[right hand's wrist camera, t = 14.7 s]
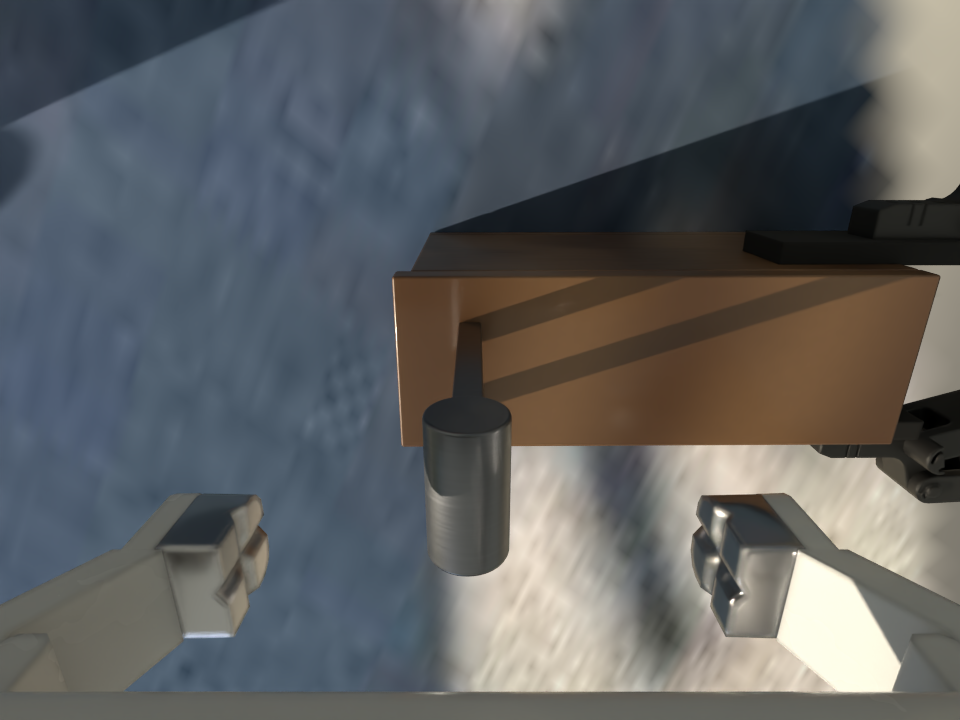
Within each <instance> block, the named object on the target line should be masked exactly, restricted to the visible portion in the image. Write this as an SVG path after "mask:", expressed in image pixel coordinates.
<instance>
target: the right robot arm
mask: <svg viewBox="0 0 960 720" xmlns="http://www.w3.org/2000/svg"><path fill="white" fill-rule="evenodd" d="M263 515H264V512H263V507H262V502H261V499H260V498H259V497H258V496H257V495H250V494H200V493H179V494H174V495H170V496H169V497H168V498H167V499H166V500H165V502H164V503H163V504H162V505H161V506H160V507H159V508H158V509H157V510H156V512H155V513H154V514H153V515H152V516H151V517H150V518H149V519H148V520H147V521H146V523H145V524H144V525H143V526H142V527H141V528H140V529H139V530H138V531H137V533H136V534H135V535H134V536H133V537H132V538H131V539H130V540H129V541H128V542H127V544H126V545H125V546H124V547H123V548H122V549H121V550H110V551H108V552H106V553H104V554H102V555H100V556H98V557H96V558H94V559H92V560H90V561H88V562H86V563H84V564H82V565H80V566H78V567H76V568H74V569H72V570H70V571H68V572H66V573H64V574H62V575H60V576H58V577H56V578H54V579H52V580H50V581H48V582H46V583H43V584H41V585H39V586H37V587H35V588H33V589H31V590H29V591H27V592H25V593H23V594H21V595H19V596H17V597H15V598H13V599H11V600H9V601H7V602H5V603H3V604H1V605H0V720H960V605H959V604H957V603H955V602H953V601H951V600H949V599H947V598H945V597H943V596H941V595H939V594H937V593H935V592H932V591H930V590H928V589H926V588H924V587H922V586H920V585H918V584H916V583H914V582H912V581H910V580H908V579H906V578H904V577H902V576H900V575H898V574H896V573H894V572H892V571H890V570H888V569H886V568H884V567H882V566H880V565H878V564H876V563H874V562H872V561H870V560H868V559H866V558H864V557H862V556H860V555H858V554H856V553H854V552H852V551H850V550H839V549H838V548H837V547H836V546H835V545H834V544H833V543H832V541H831V540H830V539H829V538H828V537H827V536H826V535H825V534H824V533H823V531H822V530H821V529H820V528H819V527H818V526H817V525H816V524H815V523H814V521H813V520H812V519H811V518H810V517H809V516H808V515H807V514H806V513H805V511H804V510H803V509H802V508H801V507H800V506H799V505H798V504H797V503H796V502H795V500H794V499H793V498H792V497H791V496H789V495H787V494H785V493H770V494H753V495H702V496H701V498H700V500H699V502H698V506H697V511H696V515H697V517H698V519H699V521H700V522H701V524H702V526H701V527H700V528H699V529H698V530H697V531H696V532H695V533H694V534H693V536H692V544H691V558H692V566H693V570H694V573H695V577H696V579H697V581H698V583H699V585H700V587H701V588H702V589H704V590H705V591H707V592H708V593H709V594H711V595H712V599H711V605H710V607H711V609H712V611H713V613H714V615H715V617H716V619H717V621H718V623H719V625H720V627H721V628H722V630H723V632H724V634H725V636H726V637H751V638H777V640H776V641H777V642H779V643H780V644H781V645H782V646H783V647H785V648H786V649H787V650H788V651H789V652H791V653H792V654H793V655H794V656H795V657H797V658H798V659H799V660H800V661H801V662H803V663H804V664H805V665H806V666H807V667H809V668H810V669H811V670H812V671H813V672H815V673H816V674H817V675H818V676H819V677H821V678H822V679H823V680H824V681H825V682H827V683H828V684H829V685H830V686H831V687H833V688H834V689H835V690H836V691H837V692H123V691H124V690H125V689H126V688H128V687H129V686H130V685H131V684H132V683H134V682H135V681H136V680H137V679H138V678H140V677H141V676H142V675H143V674H144V673H146V672H147V671H148V670H149V669H150V668H152V667H153V666H154V665H155V664H156V663H158V662H159V661H160V660H161V659H162V658H164V657H165V656H166V655H167V654H168V653H170V652H171V651H172V650H173V649H174V648H176V647H177V646H178V645H179V644H180V643H182V642H183V638H208V637H234V636H235V634H236V632H237V631H238V629H239V627H240V625H241V623H242V621H243V619H244V617H245V615H246V613H247V611H248V609H249V607H250V605H249V599H248V595H249V594H251V593H252V592H253V591H255V590H256V589H258V588H259V587H260V585H261V583H262V581H263V579H264V577H265V574H266V569H267V565H268V560H269V543H268V536H267V534H266V533H265V532H264V531H263V530H262V529H261V528H260V527H259V526H258V524H259V522H260V521H261V519H262V517H263Z"/></svg>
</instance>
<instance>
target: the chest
mask: <svg viewBox="0 0 960 720" xmlns="http://www.w3.org/2000/svg"><path fill="white" fill-rule="evenodd" d="M744 238H745V232H440V233H430V235H429V237H428V239H427V241H426V243H425V245H424V247H423V249H422V251H421V253H420V255H419V256H418V258H417V260H416V262H415V264H414V266H413V268H412V270H411V271H757V270H918V269H915V268H912V267H908V266H905V265H901V264H841V265H778V264H776V263H773V262H771V261H768V260H765V259H763V258H760V257H758V256H755V255H752V254H750V253H747V252H745V251H742V250H743V244H744Z"/></svg>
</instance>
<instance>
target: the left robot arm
mask: <svg viewBox="0 0 960 720" xmlns="http://www.w3.org/2000/svg"><path fill="white" fill-rule="evenodd" d="M742 251H745V252H747V253H750V254H752V255H755V256H758V257H760V258H763V259H765V260H768V261H771V262H773V263H776V264H778V265H841V264H901V265H960V185H959V186H958V187H957V188H956V190H955V191H954V192H953V193H951V194H950V195H948V196H947V197H945V198H942V199H941V198H929V199H926V200H868V201H865V202H863V203H860V204H857V205H855V206H853V210H852V215H851V219H850V223H849V228H848V231H746V232H745V238H744V244H743V250H742ZM811 446H812V447H813V448H814V449H815V450H816V451H817V452H818V453H820V454H822V455H825V456H828V457H830V458H845V457H847V458H855V457H857V458H876V465H877V467H878V468H879V469H880V470H882V471H883V472H884V473H885V474H887V475H888V476H889V477H890V478H892V479H893V480H894V481H895V482H897V483H898V484H899V485H900V486H902V487H903V488H904V489H905V490H907V491H908V492H909V493H910V494H912V495H913V496H914V497H916V498H917V499H918V500H919V501H921V502H923V503H943V502H960V390H957V391H953V392H949V393H945V394H942V395H938V396H934V397H930V398H926V399H923V400H919V401H915V402H911V403H907V404H904V405H903V407H902V410H901V413H900V417H899V420H898V424H897V427H896V431H895V434H894V437H893V441H892V443H891V444H830V445H811Z"/></svg>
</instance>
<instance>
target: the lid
mask: <svg viewBox="0 0 960 720" xmlns="http://www.w3.org/2000/svg"><path fill="white" fill-rule="evenodd" d="M939 280H940V276H939V275H937V274H934V273H930V272H926V271H923V270H757V271H397V272H396V273H395V274H394V276H393V278H392V286H393V304H394V321H395V339H396V356H397V374H398V391H399V409H400V426H401V444H402V446H404V447H406V446H423V451H424V475H425V499H426V523H427V547H428V554H429V557H430V558H431V560H432V562H433V563H434V564H435V565H436V566H437V567H438V568H440V569H441V570H443V571H445V572H447V573H450V574H453V575H457V576H478V575H482V574H486V573H488V572H491V571H493V570H494V569H496V568H498V567H499V566H500V565H501V564H502V563H503V562H504V560H505V559H506V557H507V555H508V552H509V529H510V482H511V446H618V445H830V444H891V443H892V441H893V437H894V434H895V431H896V427H897V424H898V420H899V417H900V413H901V410H902V407H903V403H904V400H905V396H906V393H907V390H908V386H909V383H910V379H911V376H912V373H913V369H914V366H915V362H916V359H917V355H918V352H919V349H920V345H921V342H922V338H923V335H924V332H925V328H926V325H927V321H928V318H929V315H930V311H931V308H932V304H933V301H934V297H935V294H936V291H937V287H938V284H939Z"/></svg>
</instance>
